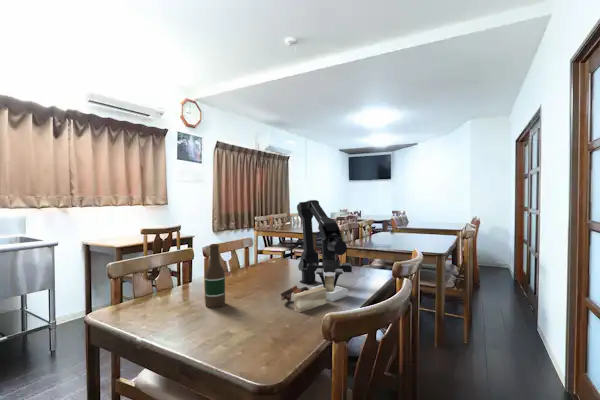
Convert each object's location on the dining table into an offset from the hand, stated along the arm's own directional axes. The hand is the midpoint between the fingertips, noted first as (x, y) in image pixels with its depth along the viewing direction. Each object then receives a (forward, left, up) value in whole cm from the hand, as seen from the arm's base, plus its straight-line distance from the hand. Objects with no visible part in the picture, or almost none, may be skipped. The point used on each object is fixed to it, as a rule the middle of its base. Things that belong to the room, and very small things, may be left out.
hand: (329, 287), depth 133 cm
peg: (0, 0, -1) cm, 1 cm away
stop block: (+5, -15, -3) cm, 16 cm away
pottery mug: (-2, -17, -4) cm, 17 cm away
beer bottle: (-23, -41, -4) cm, 47 cm away
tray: (0, 0, -3) cm, 3 cm away
